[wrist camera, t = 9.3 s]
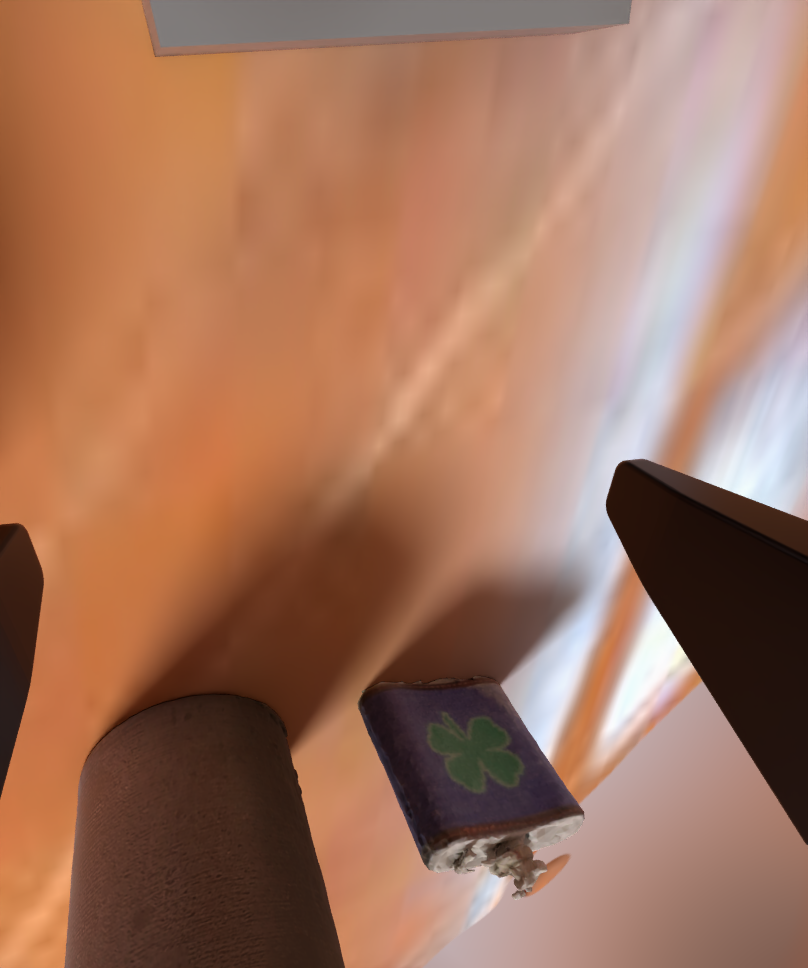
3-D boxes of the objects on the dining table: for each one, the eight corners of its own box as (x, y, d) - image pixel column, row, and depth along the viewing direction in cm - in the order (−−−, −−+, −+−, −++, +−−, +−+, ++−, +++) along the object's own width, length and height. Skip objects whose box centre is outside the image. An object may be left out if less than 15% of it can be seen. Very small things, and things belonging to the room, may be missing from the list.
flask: (503, 673, 36) (620, 847, 27) (484, 708, 37) (591, 886, 28) (364, 680, 31) (454, 890, 23) (348, 720, 32) (427, 934, 24)
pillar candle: (298, 678, 29) (414, 1064, 17) (275, 805, 33) (356, 1184, 21) (72, 708, 25) (18, 1240, 13) (79, 849, 29) (43, 1347, 17)
